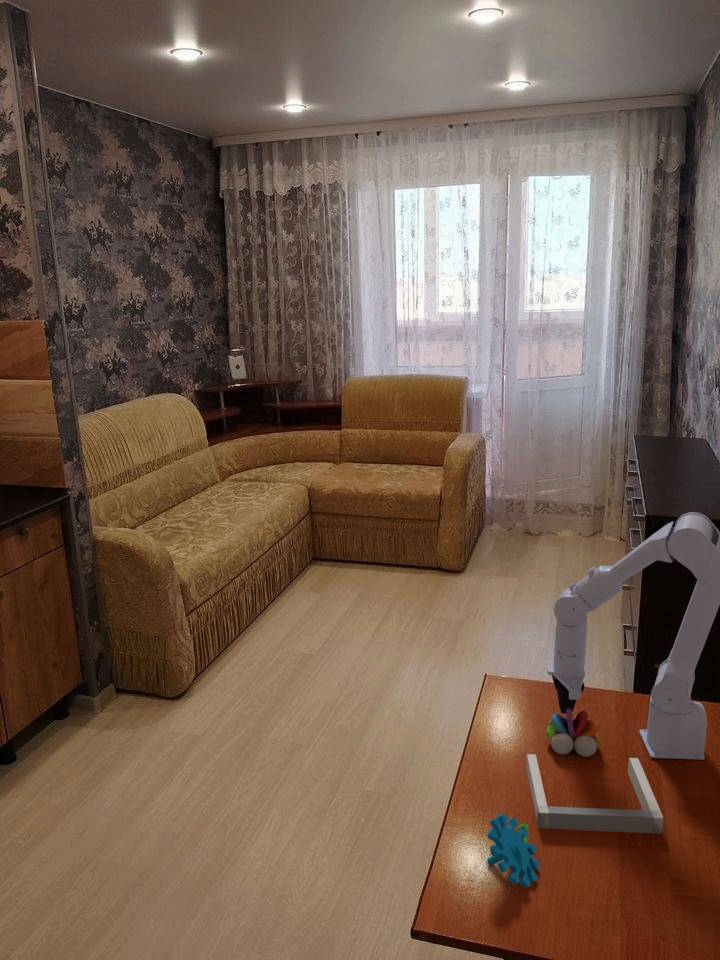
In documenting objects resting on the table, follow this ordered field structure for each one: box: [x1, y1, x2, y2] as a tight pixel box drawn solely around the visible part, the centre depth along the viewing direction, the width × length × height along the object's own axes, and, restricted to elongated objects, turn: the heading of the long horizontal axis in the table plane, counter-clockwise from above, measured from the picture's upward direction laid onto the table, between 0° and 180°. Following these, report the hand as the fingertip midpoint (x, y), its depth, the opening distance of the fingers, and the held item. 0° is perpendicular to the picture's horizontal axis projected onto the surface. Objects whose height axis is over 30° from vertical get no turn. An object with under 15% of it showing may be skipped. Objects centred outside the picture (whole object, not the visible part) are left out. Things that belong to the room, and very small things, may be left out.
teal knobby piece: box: [486, 813, 540, 889], centre depth 111 cm, size 11×6×10 cm
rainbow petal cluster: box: [545, 709, 601, 758], centre depth 137 cm, size 8×10×7 cm
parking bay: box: [525, 753, 664, 835], centre depth 124 cm, size 19×14×3 cm
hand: (565, 711), depth 146 cm, fingers closed
